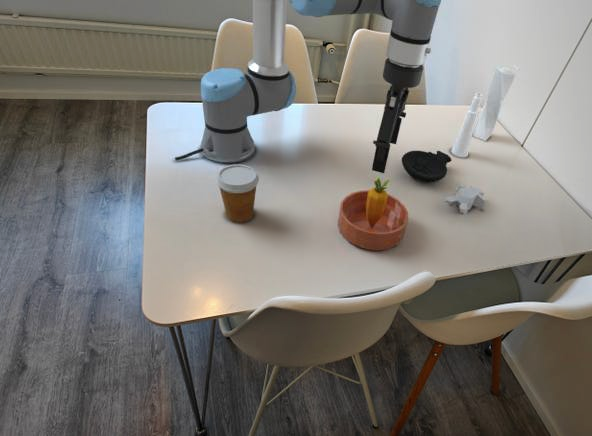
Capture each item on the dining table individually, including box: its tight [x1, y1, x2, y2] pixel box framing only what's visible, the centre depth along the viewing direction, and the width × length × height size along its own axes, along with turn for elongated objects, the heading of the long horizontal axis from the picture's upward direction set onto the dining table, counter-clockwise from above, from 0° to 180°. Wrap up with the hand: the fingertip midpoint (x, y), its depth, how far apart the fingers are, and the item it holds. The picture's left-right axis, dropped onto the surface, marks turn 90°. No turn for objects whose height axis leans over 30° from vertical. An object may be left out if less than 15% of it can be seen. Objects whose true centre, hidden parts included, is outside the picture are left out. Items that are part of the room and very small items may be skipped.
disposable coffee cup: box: [215, 163, 260, 223], centre depth 97 cm, size 10×10×12 cm
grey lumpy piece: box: [442, 185, 487, 215], centre depth 117 cm, size 10×5×15 cm
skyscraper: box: [472, 64, 519, 142], centre depth 148 cm, size 8×8×28 cm
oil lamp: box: [401, 150, 452, 184], centre depth 127 cm, size 15×20×5 cm
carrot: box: [366, 177, 391, 227], centre depth 98 cm, size 5×5×15 cm
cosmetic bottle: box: [450, 92, 483, 158], centre depth 136 cm, size 6×6×22 cm
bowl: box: [337, 189, 409, 251], centre depth 102 cm, size 17×17×6 cm
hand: (384, 156), depth 90 cm, fingers open, 13 cm apart
